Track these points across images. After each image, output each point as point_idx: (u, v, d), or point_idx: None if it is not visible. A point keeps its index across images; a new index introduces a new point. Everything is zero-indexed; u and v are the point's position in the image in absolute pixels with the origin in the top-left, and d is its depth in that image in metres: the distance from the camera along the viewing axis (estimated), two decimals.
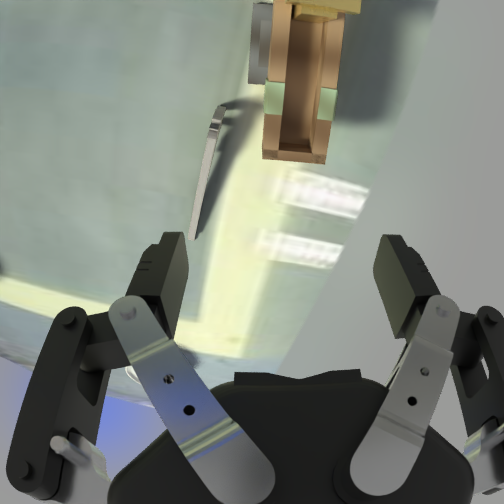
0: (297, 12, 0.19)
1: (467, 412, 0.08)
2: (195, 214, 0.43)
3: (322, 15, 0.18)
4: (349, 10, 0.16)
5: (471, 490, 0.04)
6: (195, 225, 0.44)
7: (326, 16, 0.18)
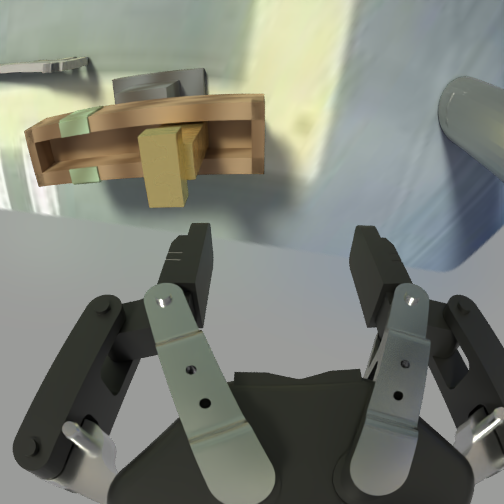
0: None
1: (451, 403, 0.08)
2: None
3: None
4: (148, 197, 0.20)
5: (472, 483, 0.04)
6: None
7: None
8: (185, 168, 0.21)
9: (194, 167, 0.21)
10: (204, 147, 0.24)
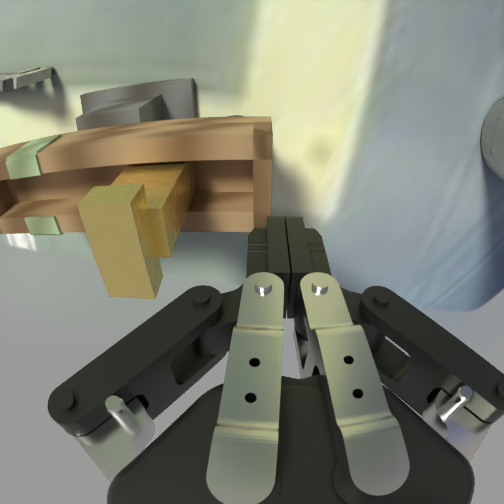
0: None
1: (401, 392, 0.09)
2: None
3: None
4: (106, 284, 0.14)
5: (469, 467, 0.05)
6: None
7: None
8: (155, 242, 0.14)
9: (168, 240, 0.14)
10: (187, 197, 0.18)
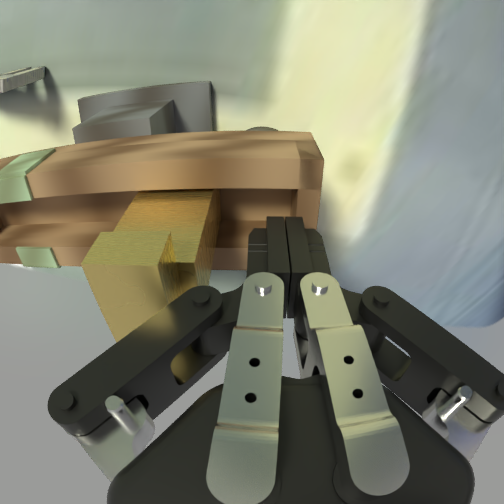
0: (125, 221, 0.12)
1: (402, 392, 0.09)
2: None
3: None
4: None
5: (469, 467, 0.05)
6: None
7: None
8: None
9: None
10: (215, 231, 0.15)
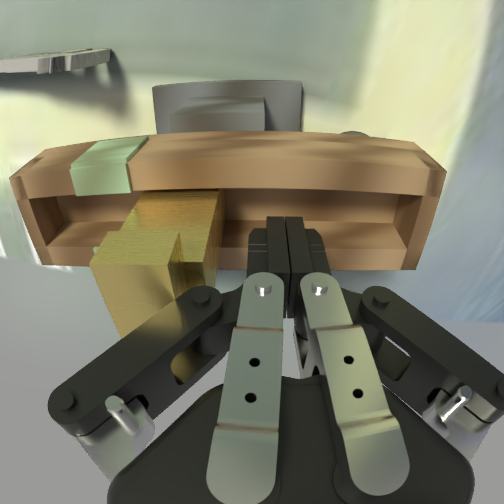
0: (131, 221, 0.12)
1: (402, 392, 0.09)
2: None
3: None
4: None
5: (469, 467, 0.05)
6: None
7: None
8: None
9: None
10: (220, 231, 0.15)
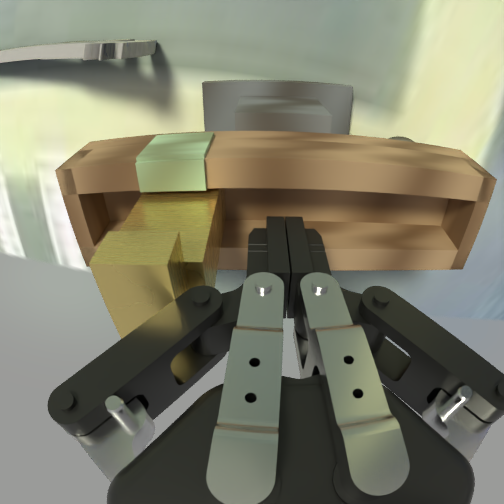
0: (131, 221, 0.12)
1: (402, 392, 0.09)
2: None
3: None
4: None
5: (469, 467, 0.05)
6: None
7: None
8: None
9: None
10: (220, 231, 0.15)
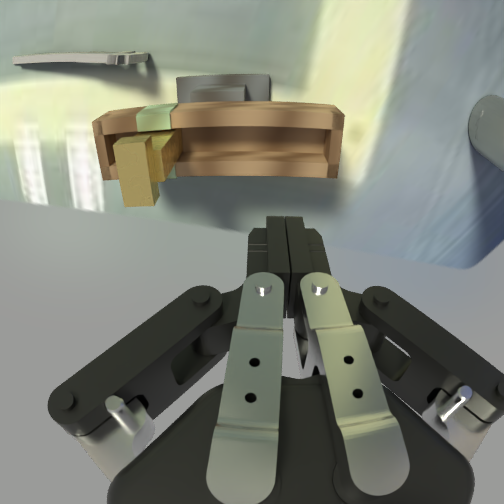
0: None
1: (402, 392, 0.09)
2: (35, 58, 0.26)
3: None
4: (123, 197, 0.22)
5: (469, 467, 0.05)
6: (25, 61, 0.26)
7: None
8: (155, 171, 0.23)
9: (163, 170, 0.23)
10: (176, 152, 0.27)
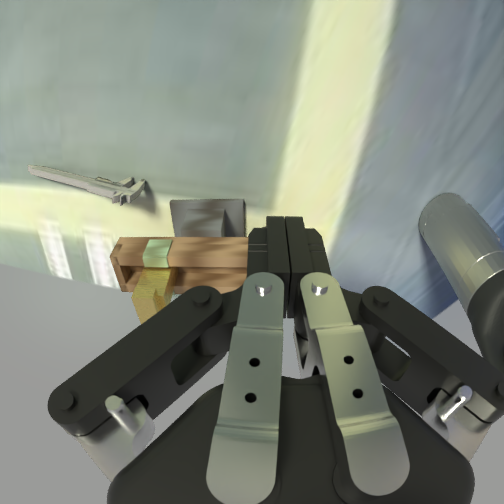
0: (141, 279, 0.36)
1: (402, 392, 0.09)
2: (50, 176, 0.38)
3: None
4: (141, 323, 0.35)
5: (469, 467, 0.05)
6: (40, 175, 0.39)
7: None
8: (161, 307, 0.35)
9: None
10: (174, 280, 0.39)
